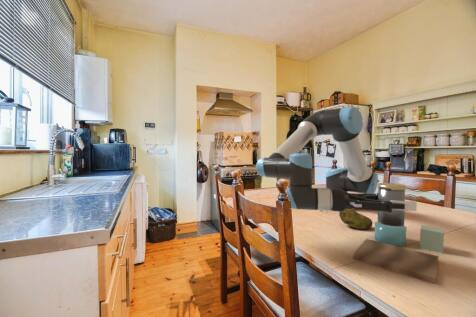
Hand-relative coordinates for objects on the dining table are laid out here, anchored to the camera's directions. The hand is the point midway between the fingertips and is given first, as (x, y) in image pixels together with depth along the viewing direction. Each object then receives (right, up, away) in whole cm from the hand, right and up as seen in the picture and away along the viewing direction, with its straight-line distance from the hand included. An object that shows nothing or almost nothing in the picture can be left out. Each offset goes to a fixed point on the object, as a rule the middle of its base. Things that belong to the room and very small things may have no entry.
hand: (409, 203), depth 69 cm
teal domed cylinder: (+5, -18, +16) cm, 24 cm away
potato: (-1, -17, +30) cm, 34 cm away
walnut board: (-3, -18, +1) cm, 19 cm away
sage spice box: (+15, -18, +9) cm, 25 cm away
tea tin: (-5, -6, +2) cm, 8 cm away
